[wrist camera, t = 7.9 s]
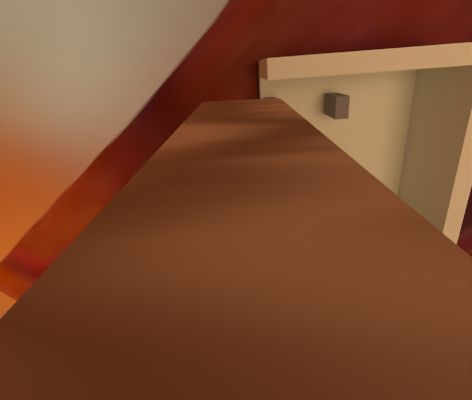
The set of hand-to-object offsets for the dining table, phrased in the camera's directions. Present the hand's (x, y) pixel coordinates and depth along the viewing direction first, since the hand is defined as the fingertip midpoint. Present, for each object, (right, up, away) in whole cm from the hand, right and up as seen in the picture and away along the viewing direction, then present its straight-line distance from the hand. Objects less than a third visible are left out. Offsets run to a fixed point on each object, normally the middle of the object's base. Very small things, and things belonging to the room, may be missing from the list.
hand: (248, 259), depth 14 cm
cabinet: (+11, +9, +20) cm, 25 cm away
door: (0, +1, +2) cm, 2 cm away
